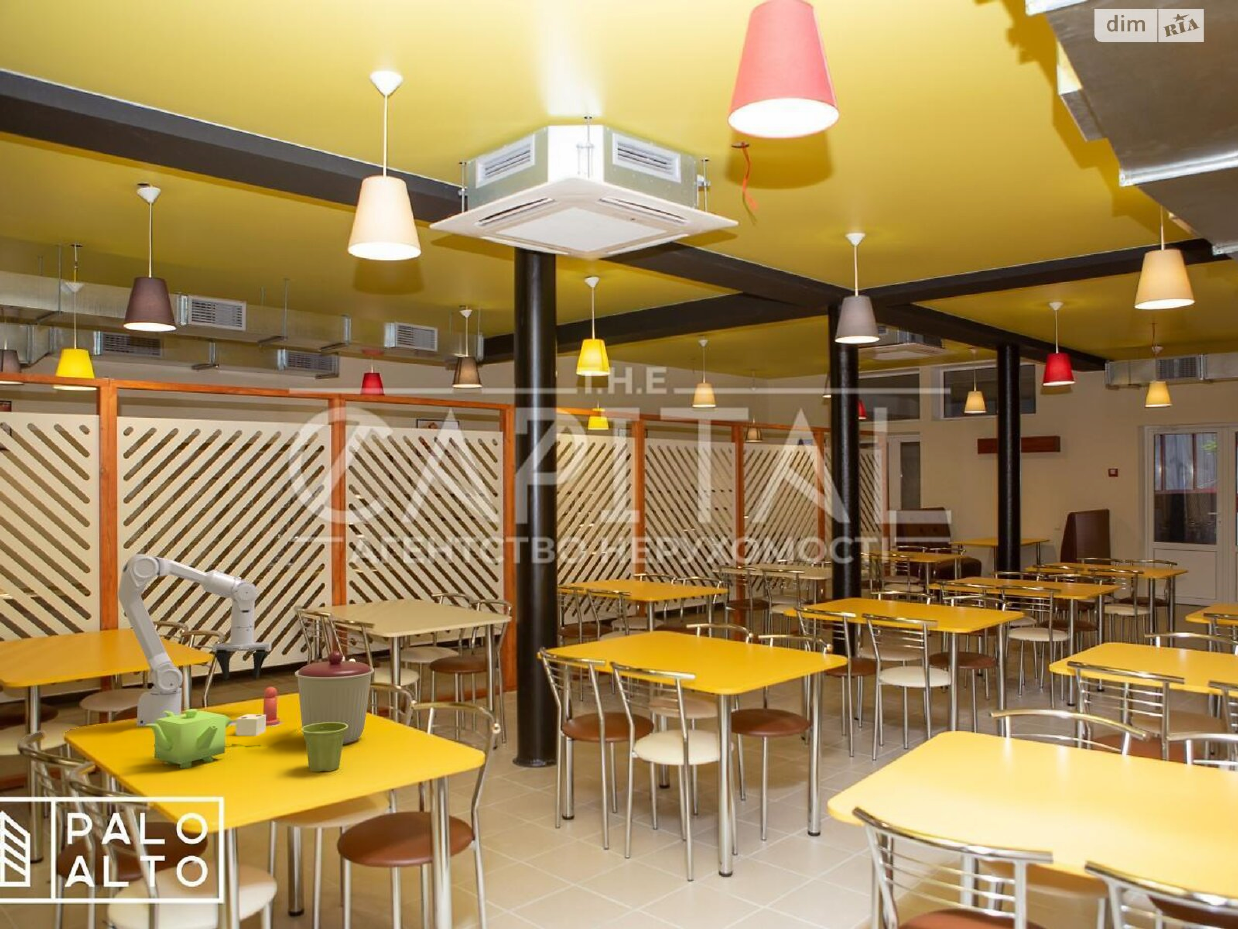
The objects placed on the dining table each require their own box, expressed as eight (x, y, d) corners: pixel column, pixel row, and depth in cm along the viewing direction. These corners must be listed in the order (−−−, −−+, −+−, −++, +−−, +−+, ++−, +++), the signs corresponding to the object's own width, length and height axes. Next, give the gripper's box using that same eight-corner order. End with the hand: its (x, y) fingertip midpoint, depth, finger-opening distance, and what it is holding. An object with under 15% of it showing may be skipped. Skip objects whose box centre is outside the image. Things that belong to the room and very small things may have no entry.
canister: (359, 728, 227) (361, 644, 229) (382, 744, 212) (384, 653, 213) (285, 737, 218) (287, 649, 219) (303, 754, 202) (306, 659, 204)
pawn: (256, 725, 226) (257, 688, 226) (265, 721, 230) (266, 685, 231) (274, 725, 225) (275, 688, 226) (282, 721, 230) (283, 685, 231)
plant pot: (324, 777, 185) (325, 734, 186) (290, 771, 190) (291, 729, 190) (356, 766, 194) (357, 725, 194) (323, 760, 198) (324, 720, 198)
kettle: (143, 773, 187) (145, 718, 188) (158, 756, 201) (159, 705, 201) (221, 768, 191) (223, 714, 192) (231, 752, 205) (232, 701, 205)
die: (235, 740, 216) (236, 718, 216) (245, 735, 221) (246, 714, 221) (256, 740, 215) (256, 719, 216) (265, 735, 220) (266, 714, 221)
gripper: (208, 628, 234) (206, 681, 233) (266, 628, 235) (264, 681, 234) (218, 625, 241) (216, 677, 240) (274, 625, 242) (272, 676, 241)
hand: (241, 679), depth 238 cm, fingers open, 7 cm apart
